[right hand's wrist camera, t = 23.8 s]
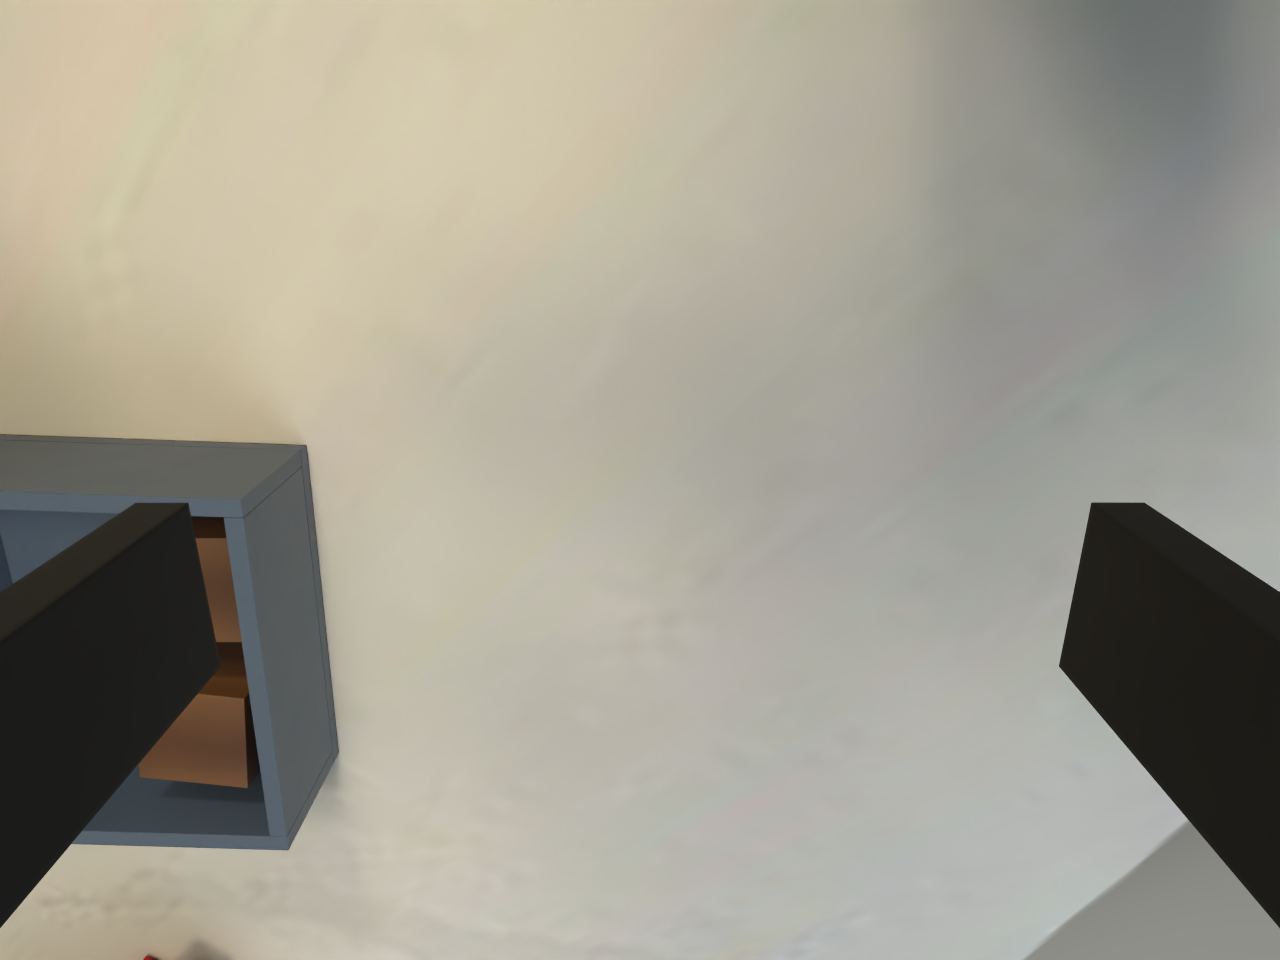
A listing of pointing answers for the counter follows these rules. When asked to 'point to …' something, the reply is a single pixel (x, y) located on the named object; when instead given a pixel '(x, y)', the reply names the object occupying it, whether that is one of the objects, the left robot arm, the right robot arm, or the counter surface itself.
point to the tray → (265, 599)
